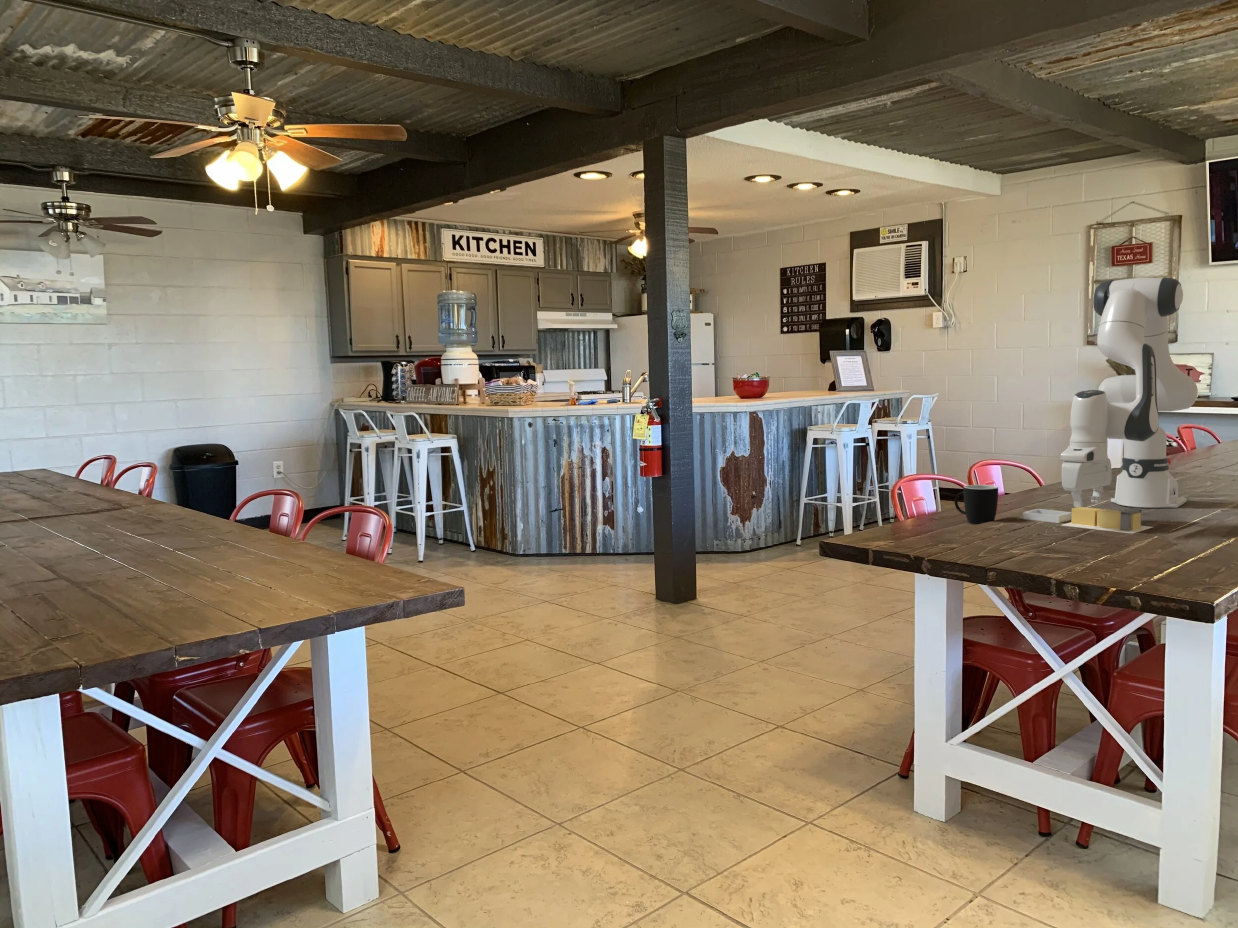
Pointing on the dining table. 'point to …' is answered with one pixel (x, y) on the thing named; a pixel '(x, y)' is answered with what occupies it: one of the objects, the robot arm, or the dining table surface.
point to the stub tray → (1047, 515)
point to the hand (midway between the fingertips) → (1087, 505)
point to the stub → (1084, 516)
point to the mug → (979, 503)
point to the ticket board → (1117, 521)
